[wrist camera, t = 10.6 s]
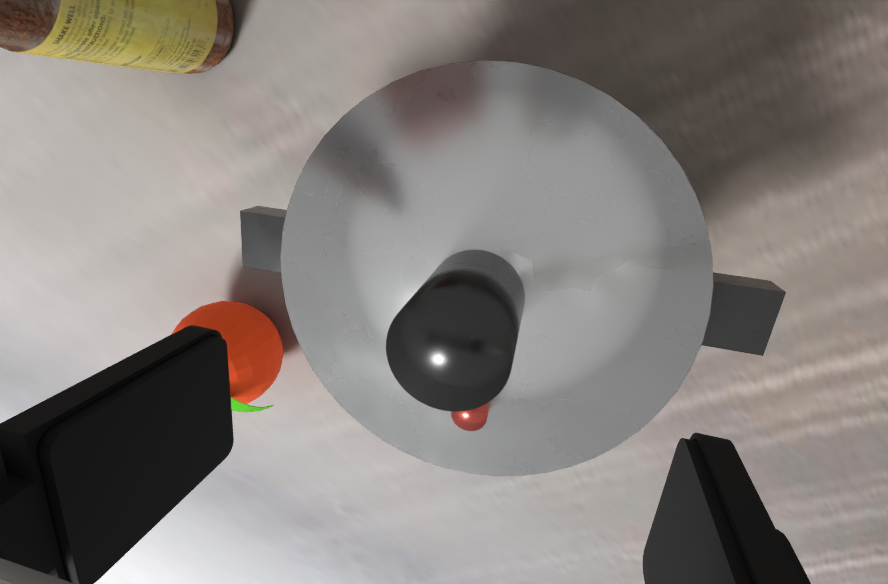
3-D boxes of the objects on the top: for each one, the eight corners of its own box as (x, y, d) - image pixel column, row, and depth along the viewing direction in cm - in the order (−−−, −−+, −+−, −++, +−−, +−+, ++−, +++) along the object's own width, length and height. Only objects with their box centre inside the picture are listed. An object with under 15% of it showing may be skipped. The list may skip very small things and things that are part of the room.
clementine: (331, 339, 33) (276, 391, 27) (285, 402, 36) (224, 464, 30) (239, 267, 33) (160, 302, 27) (200, 336, 36) (119, 383, 29)
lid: (746, 59, 15) (861, 17, 9) (666, 484, 20) (708, 626, 14) (276, 69, 18) (147, 43, 13) (311, 431, 23) (231, 530, 18)
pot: (751, 110, 24) (872, 100, 15) (670, 386, 29) (721, 507, 20) (330, 72, 28) (215, 45, 18) (327, 321, 33) (236, 397, 24)
